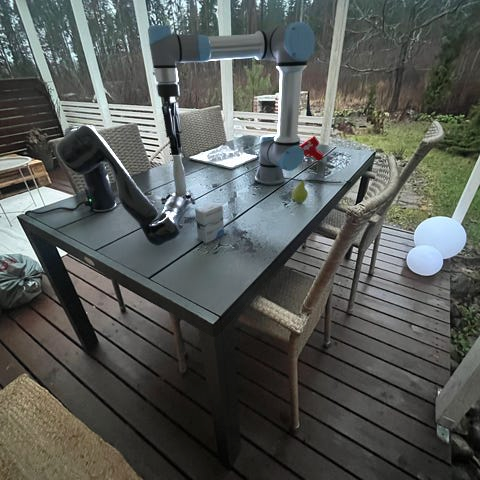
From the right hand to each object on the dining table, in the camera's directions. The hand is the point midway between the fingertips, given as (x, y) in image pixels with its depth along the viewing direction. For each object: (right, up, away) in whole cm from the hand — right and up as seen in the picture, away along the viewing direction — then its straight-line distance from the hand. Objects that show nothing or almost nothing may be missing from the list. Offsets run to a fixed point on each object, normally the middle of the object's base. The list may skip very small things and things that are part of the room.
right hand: (176, 152), depth 105 cm
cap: (0, +2, -1) cm, 2 cm away
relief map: (+14, +20, +74) cm, 78 cm away
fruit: (+51, -17, +17) cm, 56 cm away
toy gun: (+67, +18, +70) cm, 98 cm away
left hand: (0, -13, +11) cm, 17 cm away
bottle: (0, -20, +13) cm, 24 cm away
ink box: (+14, -33, -7) cm, 36 cm away
